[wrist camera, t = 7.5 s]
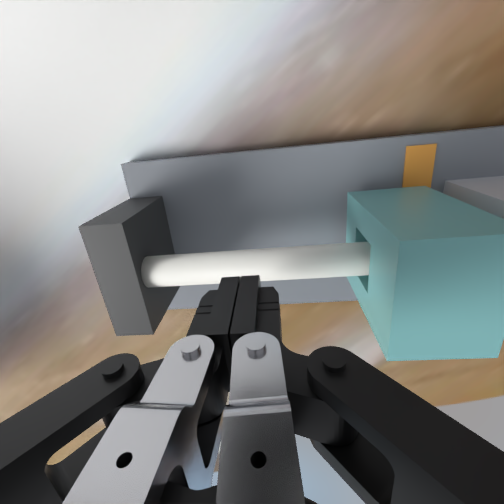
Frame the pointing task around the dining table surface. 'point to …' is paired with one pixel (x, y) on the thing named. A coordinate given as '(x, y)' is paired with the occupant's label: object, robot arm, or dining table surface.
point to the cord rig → (268, 217)
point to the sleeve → (429, 273)
